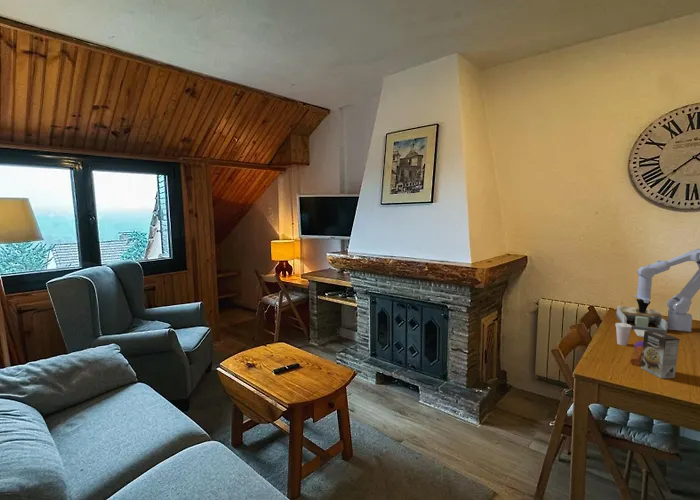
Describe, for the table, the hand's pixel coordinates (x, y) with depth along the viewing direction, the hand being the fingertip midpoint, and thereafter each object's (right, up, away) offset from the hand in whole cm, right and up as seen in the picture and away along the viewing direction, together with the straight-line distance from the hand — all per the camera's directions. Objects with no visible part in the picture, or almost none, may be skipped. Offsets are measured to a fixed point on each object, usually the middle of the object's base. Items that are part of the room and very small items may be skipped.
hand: (642, 312), depth 198 cm
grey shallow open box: (+2, -7, +4) cm, 8 cm away
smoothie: (-30, -11, -25) cm, 41 cm away
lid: (+3, 0, +6) cm, 7 cm away
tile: (-8, -9, -13) cm, 18 cm away
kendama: (-34, -13, -41) cm, 55 cm away
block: (0, -7, +1) cm, 7 cm away
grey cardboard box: (-38, -15, -54) cm, 68 cm away
